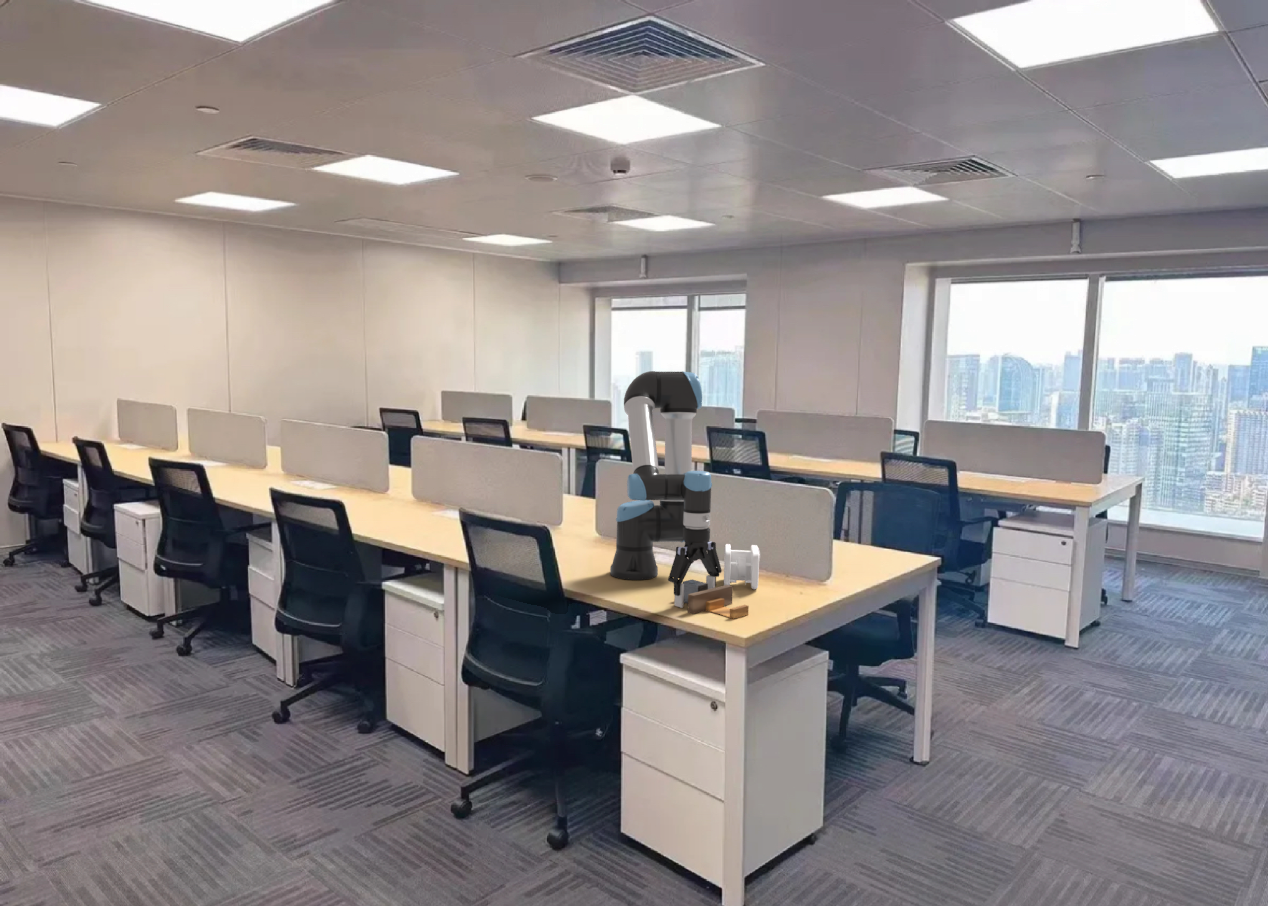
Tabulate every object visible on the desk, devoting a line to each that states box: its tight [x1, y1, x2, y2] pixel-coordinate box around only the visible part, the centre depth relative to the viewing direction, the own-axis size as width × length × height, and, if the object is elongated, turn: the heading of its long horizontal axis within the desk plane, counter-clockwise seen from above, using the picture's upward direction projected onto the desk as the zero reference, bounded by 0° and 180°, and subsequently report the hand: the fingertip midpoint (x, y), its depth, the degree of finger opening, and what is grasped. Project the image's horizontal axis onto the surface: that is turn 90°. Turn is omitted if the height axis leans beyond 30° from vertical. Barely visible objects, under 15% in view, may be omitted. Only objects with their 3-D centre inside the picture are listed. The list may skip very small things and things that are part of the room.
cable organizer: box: [723, 543, 761, 590], centre depth 260 cm, size 15×11×12 cm
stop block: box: [682, 579, 708, 605], centre depth 239 cm, size 6×4×6 cm, turn 43°
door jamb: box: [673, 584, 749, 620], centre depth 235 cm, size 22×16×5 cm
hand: (694, 602), depth 239 cm, fingers open, 12 cm apart
